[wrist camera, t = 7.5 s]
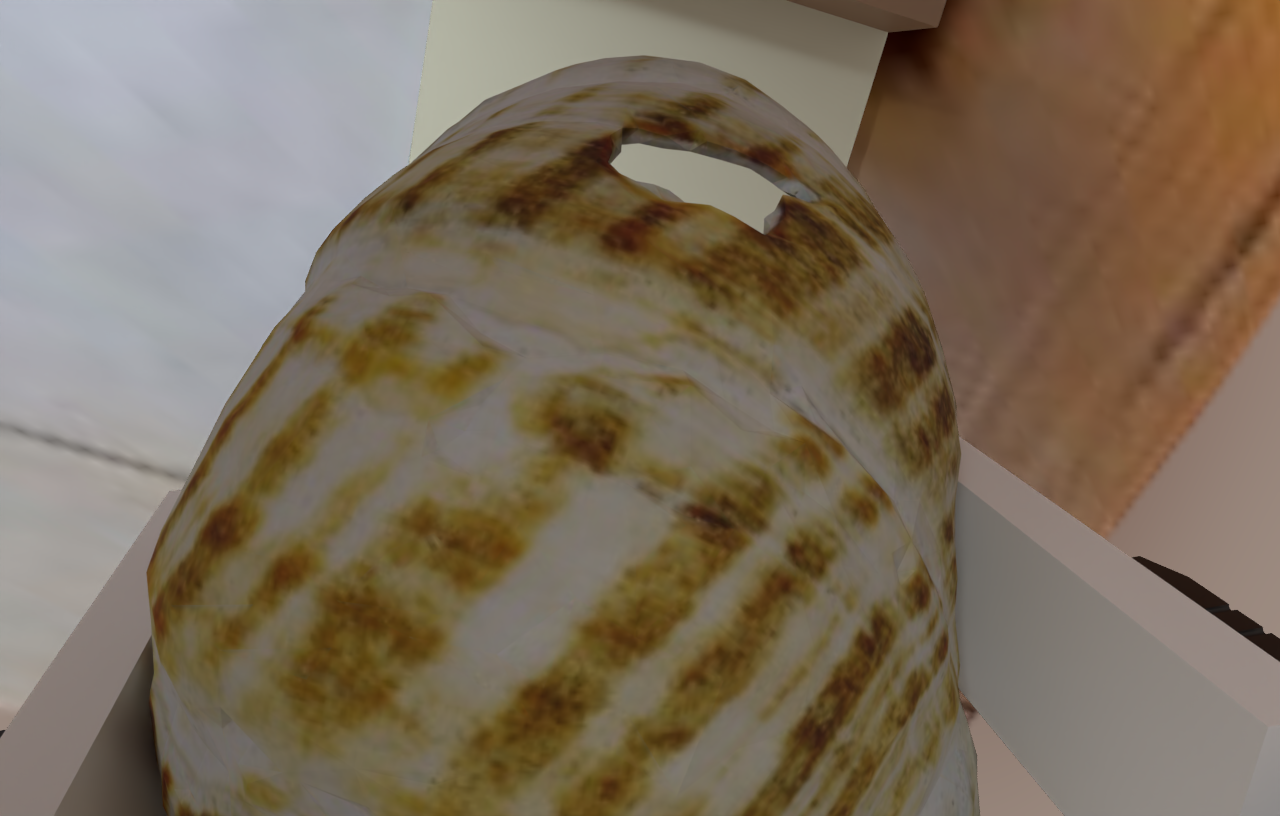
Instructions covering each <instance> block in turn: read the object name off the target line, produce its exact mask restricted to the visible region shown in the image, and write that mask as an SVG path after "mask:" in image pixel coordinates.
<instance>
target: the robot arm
mask: <svg viewBox="0 0 1280 816" xmlns="http://www.w3.org/2000/svg"><path fill="white" fill-rule="evenodd" d="M959 441H960V448H961V460H960V468H959V475H958V483H957V490H956V498H955V551H956V564H957V578H958V579H957V593H956V607H955V621H956V631H957V640H958V650H959V660H960V670H959V680H958V688H959V690H960V691H961V692H962V693H963V694H964V696H965V697H966V698H967V699H968V700H969V702H970V703H971V704H972V705H973V706H974V708H975V709H976V710H977V711H978V712H979V714H980V715H981V716H982V717H983V718H984V720H985V721H986V722H987V723H988V724H989V726H990V727H991V728H992V729H993V730H994V732H995V733H996V734H997V735H998V736H999V738H1000V739H1001V740H1002V741H1003V742H1004V744H1005V745H1006V746H1007V747H1008V748H1009V750H1010V751H1011V752H1012V753H1013V754H1014V756H1015V757H1016V758H1017V759H1018V761H1019V762H1020V763H1021V764H1022V765H1023V767H1024V768H1025V769H1026V770H1027V771H1028V773H1029V774H1030V775H1031V776H1032V777H1033V779H1034V780H1035V781H1036V782H1037V783H1038V785H1039V786H1040V787H1041V788H1042V789H1043V791H1044V792H1045V793H1046V794H1047V795H1048V797H1049V798H1050V799H1051V800H1052V801H1053V803H1054V804H1055V805H1056V806H1057V807H1058V809H1059V810H1060V811H1061V812H1062V814H1063V815H1064V816H1280V639H1279V638H1278V637H1276V636H1275V635H1273V634H1272V633H1270V634H1265V633H1264V632H1263V627H1262V626H1260V625H1259V624H1257V623H1256V622H1254V621H1253V620H1251V619H1250V618H1248V617H1247V616H1245V615H1244V614H1242V613H1241V612H1239V611H1238V610H1233V611H1231V610H1230V608H1229V604H1227V603H1226V602H1225V601H1223V600H1222V599H1220V598H1219V597H1217V596H1216V595H1214V594H1213V593H1211V592H1210V591H1208V590H1207V589H1205V588H1204V587H1203V586H1201V585H1200V584H1198V583H1196V582H1195V581H1193V580H1192V579H1191V578H1189V577H1187V576H1184V575H1183V574H1180V573H1178V572H1175V571H1173V570H1171V569H1168V568H1166V567H1164V566H1161V565H1159V564H1157V563H1154V562H1152V561H1150V560H1147V559H1145V558H1143V557H1140V556H1138V557H1130V556H1129V555H1127V554H1126V553H1124V552H1123V551H1121V550H1120V549H1118V548H1117V547H1116V546H1114V545H1113V544H1111V543H1110V542H1109V541H1107V540H1106V539H1104V538H1103V537H1102V536H1100V535H1099V534H1097V533H1096V532H1094V531H1093V530H1092V529H1090V528H1089V527H1087V526H1086V525H1085V524H1083V523H1082V522H1080V521H1079V520H1077V519H1076V518H1075V517H1073V516H1072V515H1070V514H1069V513H1067V512H1066V511H1065V510H1063V509H1062V508H1060V507H1059V506H1058V505H1056V504H1055V503H1053V502H1052V501H1050V500H1049V499H1048V498H1046V497H1045V496H1043V495H1042V494H1041V493H1039V492H1038V491H1036V490H1035V489H1033V488H1032V487H1031V486H1029V485H1028V484H1026V483H1025V482H1023V481H1022V480H1021V479H1019V478H1018V477H1016V476H1015V475H1014V474H1012V473H1011V472H1009V471H1008V470H1006V469H1005V468H1004V467H1002V466H1001V465H999V464H998V463H996V462H995V461H994V460H992V459H991V458H989V457H988V456H987V455H985V454H984V453H982V452H981V451H979V450H978V449H977V448H975V447H974V446H972V445H971V444H970V443H968V442H967V441H965V440H964V439H962V438H961V437H960V436H959ZM181 491H182V490H176V491H169V493H168V494H167V496H166V497H165V498H164V500H163V501H162V503H161V504H160V506H159V507H158V509H157V510H156V512H155V513H154V514H153V516H152V517H151V519H150V520H149V522H148V523H147V525H146V526H145V528H144V529H143V531H142V532H141V533H140V535H139V536H138V538H137V539H136V541H135V542H134V544H133V545H132V547H131V548H130V549H129V551H128V552H127V554H126V555H125V557H124V558H123V560H122V561H121V563H120V564H119V566H118V567H117V568H116V570H115V571H114V573H113V574H112V576H111V577H110V579H109V580H108V582H107V583H106V584H105V586H104V587H103V589H102V590H101V592H100V593H99V595H98V596H97V598H96V599H95V601H94V602H93V603H92V605H91V606H90V608H89V609H88V611H87V612H86V614H85V615H84V617H83V618H82V620H81V621H80V622H79V624H78V625H77V627H76V628H75V630H74V631H73V633H72V634H71V636H70V637H69V638H68V640H67V641H66V643H65V644H64V646H63V647H62V649H61V650H60V652H59V653H58V655H57V656H56V657H55V659H54V660H53V662H52V663H51V665H50V666H49V668H48V669H47V671H46V672H45V673H44V675H43V676H42V678H41V679H40V681H39V682H38V684H37V685H36V687H35V688H34V690H33V691H32V692H31V694H30V695H29V697H28V698H27V700H26V701H25V703H24V704H23V706H22V707H21V708H20V710H19V711H18V713H17V714H16V716H15V717H14V719H13V720H12V722H11V723H10V725H9V726H8V727H7V729H6V730H2V731H0V816H167V814H166V812H165V810H164V808H163V801H162V784H161V775H160V772H159V768H158V765H157V761H156V754H155V746H154V739H153V732H152V724H151V717H150V709H149V697H150V689H151V685H152V681H153V676H154V663H153V646H152V630H151V618H150V607H149V596H148V585H147V574H146V572H147V569H148V566H149V563H150V560H151V558H152V555H153V552H154V549H155V546H156V544H157V541H158V538H159V535H160V532H161V530H162V528H163V526H164V524H165V522H166V520H167V518H168V516H169V514H170V512H171V510H172V508H173V506H174V504H175V503H176V501H177V499H178V497H179V495H180V493H181Z"/></svg>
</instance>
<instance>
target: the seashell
mask: <svg viewBox="0 0 1280 816" xmlns="http://www.w3.org/2000/svg"><path fill="white" fill-rule="evenodd" d="M638 143H640V144H644V145H649V146H653V147H658V148H663V149H671V150H680V151H689V152H693V153H697V154H700V155H704V156H708V157H711V158H715V159H719V160H722V161H726V162H729V163H732V164H736V165H739V166H742V167H746V168H749V169H751V170H753V171H754V172H756V173H757V174H759V175H760V176H762V177H763V178H765V179H766V180H768V181H769V182H771V183H772V184H774V185H775V186H776V187H778V188H779V189H780V190H781V191H784V192H785V193H786V194H788V195H790V196H788V195H784V194H783V195H782V197H781V199H780V201H779V203H778V205H777V207H776V209H775V211H774V212H772V213H771V214H769V215H768V216H766V217H765V218H764V231H763V234H762V233H761V232H759V231H757V230H756V229H754V228H752V227H751V226H749V225H747V224H746V223H744V222H743V221H741V220H739V219H738V218H736V217H734V216H732V215H730V214H728V213H726V212H724V211H722V210H720V209H718V208H716V207H713V206H711V205H706V204H696V203H686V202H684V201H683V200H681V199H680V198H679V197H677V196H676V195H675V194H674V193H672V192H671V191H670V190H667V189H665V188H662V187H660V186H657V185H655V184H650V183H644V182H639V181H635V180H633V179H631V178H629V177H626V176H624V175H622V174H620V173H619V172H618V171H617V170H616V169H615V168H614V167H613V166H612V165H611V163H612V162H613V160H614V159H615V158H616V157H617V156H618V155H619V154H620V153H621V146H622V145H627V144H638ZM960 460H961V448H960V441H959V434H958V427H957V420H956V402H955V398H954V394H953V390H952V386H951V382H950V378H949V374H948V370H947V366H946V362H945V358H944V354H943V350H942V346H941V343H940V340H939V337H938V334H937V331H936V328H935V324H934V321H933V318H932V315H931V312H930V309H929V306H928V303H927V300H926V296H925V293H924V291H923V289H922V287H921V285H920V283H919V281H918V278H917V276H916V274H915V272H914V270H913V268H912V266H911V264H910V262H909V260H908V258H907V256H906V255H905V253H904V252H903V250H902V249H901V247H900V245H899V244H898V242H897V241H896V239H895V238H894V236H893V235H892V233H891V232H890V230H889V229H888V227H887V226H886V224H885V223H884V221H883V220H882V218H881V217H880V215H879V214H878V212H877V211H876V209H875V208H874V206H873V204H872V202H871V200H870V199H869V197H868V195H867V193H866V192H865V190H864V189H863V187H862V186H861V185H860V184H859V182H858V181H857V180H856V179H855V178H854V176H853V175H852V174H851V173H850V171H849V170H848V169H847V168H846V166H845V165H844V164H843V163H842V161H841V160H840V159H839V158H838V157H837V155H836V154H835V153H834V152H833V150H832V149H831V148H830V147H829V146H828V145H827V144H826V143H825V142H824V141H823V140H822V139H821V138H820V137H819V136H818V135H817V134H816V133H815V132H814V131H812V130H811V129H810V128H809V127H808V126H807V125H805V124H804V123H803V122H802V121H800V120H799V119H798V118H797V117H795V116H794V115H793V114H792V113H790V112H789V111H788V110H787V109H785V108H784V107H783V106H782V105H780V104H779V103H778V102H776V101H775V100H773V99H772V98H771V97H769V96H768V95H766V94H765V93H764V92H762V91H761V90H760V89H758V88H757V87H755V86H754V85H753V84H751V83H750V82H748V81H747V80H745V79H743V78H740V77H737V76H735V75H732V74H729V73H727V72H724V71H721V70H719V69H716V68H713V67H711V66H708V65H705V64H703V63H700V62H694V61H686V60H678V59H670V58H662V57H654V56H646V55H640V56H627V57H613V58H603V59H598V60H593V61H588V62H583V63H578V64H574V65H571V66H568V67H564V68H561V69H558V70H555V71H553V72H550V73H548V74H546V75H543V76H541V77H538V78H536V79H534V80H531V81H529V82H526V83H524V84H522V85H519V86H517V87H514V88H512V89H510V90H507V91H505V92H502V93H500V94H498V95H495V96H493V97H490V98H488V99H486V100H484V101H483V102H482V103H480V104H479V105H478V106H477V107H476V108H474V109H473V110H472V111H471V112H470V113H468V114H467V115H466V116H465V117H464V118H462V119H461V120H460V121H459V122H457V123H456V124H454V125H453V126H451V127H450V128H448V129H447V130H446V131H445V132H444V133H443V134H442V135H441V136H439V137H438V138H437V139H436V140H435V141H434V142H433V143H432V144H431V145H430V146H429V147H428V148H427V149H426V150H424V151H423V152H422V153H421V154H420V155H419V156H418V157H417V158H416V159H415V160H413V161H412V162H411V164H409V165H408V166H406V167H405V168H403V169H402V170H400V171H399V172H397V173H396V174H394V175H393V176H392V177H391V178H389V179H388V180H387V181H386V182H384V183H383V184H382V185H381V186H379V187H378V188H377V189H376V190H374V191H373V192H372V193H371V194H369V195H368V196H367V197H366V198H364V199H363V200H362V201H361V202H360V203H359V204H358V205H357V206H356V207H355V208H354V209H353V210H352V211H351V212H350V213H349V214H348V215H347V216H346V217H345V218H344V219H343V220H342V221H341V222H340V223H339V224H338V225H337V226H336V227H335V228H334V229H333V230H332V232H331V233H330V234H329V236H328V237H327V238H326V240H325V241H324V243H323V244H322V245H321V247H320V248H319V249H318V251H317V252H316V254H315V257H314V260H313V262H312V265H311V268H310V270H309V273H308V276H307V278H306V281H305V292H304V294H303V295H302V296H301V297H300V299H299V300H298V301H297V302H296V304H295V305H294V306H293V308H292V309H291V310H290V311H289V313H288V314H287V315H286V316H285V317H284V318H283V319H282V320H281V321H280V322H279V323H278V324H277V325H276V326H275V327H274V329H273V330H272V332H271V333H270V335H269V336H268V338H267V339H266V341H265V342H264V344H263V345H262V348H261V349H260V351H259V352H258V354H257V355H256V357H255V359H254V360H253V362H252V363H251V365H250V366H249V368H248V370H247V371H246V373H245V374H244V376H243V377H242V379H241V380H240V382H239V384H238V385H237V387H236V388H235V390H234V391H233V393H232V394H231V396H230V398H229V399H228V401H227V402H226V404H225V406H224V408H223V410H222V412H221V414H220V416H219V418H218V420H217V422H216V424H215V426H214V428H213V430H212V432H211V434H210V436H209V438H208V440H207V442H206V444H205V446H204V448H203V450H202V452H201V454H200V456H199V457H198V459H197V461H196V463H195V465H194V467H193V469H192V471H191V473H190V475H189V477H188V479H187V481H186V483H185V485H184V487H183V489H182V491H181V493H180V495H179V497H178V499H177V501H176V503H175V504H174V506H173V508H172V510H171V512H170V514H169V516H168V518H167V520H166V522H165V524H164V526H163V528H162V530H161V532H160V535H159V538H158V541H157V544H156V546H155V549H154V552H153V555H152V558H151V560H150V563H149V566H148V569H147V572H146V574H147V585H148V596H149V607H150V618H151V630H152V646H153V663H154V676H153V681H152V685H151V689H150V697H149V709H150V717H151V724H152V732H153V739H154V746H155V754H156V761H157V765H158V768H159V772H160V775H161V784H162V801H163V808H164V810H165V812H166V814H167V816H980V809H979V796H978V783H977V754H976V750H975V747H974V743H973V740H972V737H971V733H970V730H969V726H968V723H967V719H966V716H965V713H964V711H963V708H962V705H961V702H960V698H959V688H958V680H959V670H960V660H959V650H958V640H957V631H956V621H955V607H956V593H957V579H958V578H957V564H956V551H955V498H956V490H957V483H958V475H959V468H960Z"/></svg>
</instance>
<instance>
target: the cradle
mask: <svg viewBox="0 0 1280 816" xmlns="http://www.w3.org/2000/svg"><path fill="white" fill-rule="evenodd" d="M945 3H946V0H433V2H432V9H431V16H430V23H429V30H428V36H427V43H426V50H425V57H424V63H423V70H422V77H421V84H420V91H419V97H418V104H417V111H416V118H415V125H414V131H413V138H412V145H411V152H410V159H409V164H411V162H412V161H413V160H415V159H416V158H417V157H418V156H419V155H420V154H421V153H422V152H423V151H424V150H426V149H427V148H428V147H429V146H430V145H431V144H432V143H433V142H434V141H435V140H436V139H437V138H438V137H439V136H441V135H442V134H443V133H444V132H445V131H446V130H447V129H448V128H450V127H451V126H453V125H454V124H456V123H457V122H459V121H460V120H461V119H462V118H464V117H465V116H466V115H467V114H468V113H470V112H471V111H472V110H473V109H474V108H476V107H477V106H478V105H479V104H480V103H482V102H483V101H484V100H486V99H488V98H490V97H493V96H495V95H498V94H500V93H502V92H505V91H507V90H510V89H512V88H514V87H517V86H519V85H522V84H524V83H526V82H529V81H531V80H534V79H536V78H538V77H541V76H543V75H546V74H548V73H550V72H553V71H555V70H558V69H561V68H564V67H568V66H571V65H574V64H578V63H583V62H588V61H593V60H598V59H603V58H613V57H627V56H640V55H646V56H654V57H662V58H670V59H678V60H686V61H694V62H700V63H703V64H705V65H708V66H711V67H713V68H716V69H719V70H721V71H724V72H727V73H729V74H732V75H735V76H737V77H740V78H743V79H745V80H747V81H748V82H750V83H751V84H753V85H754V86H755V87H757V88H758V89H760V90H761V91H762V92H764V93H765V94H766V95H768V96H769V97H771V98H772V99H773V100H775V101H776V102H778V103H779V104H780V105H782V106H783V107H784V108H785V109H787V110H788V111H789V112H790V113H792V114H793V115H794V116H795V117H797V118H798V119H799V120H800V121H802V122H803V123H804V124H805V125H807V126H808V127H809V128H810V129H811V130H812V131H814V132H815V133H816V134H817V135H818V136H819V137H820V138H821V139H822V140H823V141H824V142H825V143H826V144H827V145H828V146H829V147H830V148H831V149H832V150H833V152H834V153H835V154H836V155H837V157H838V158H839V159H840V160H841V161H842V163H843V164H844V165H845V166H846V168H847V165H848V161H849V158H850V155H851V152H852V148H853V145H854V142H855V139H856V136H857V132H858V129H859V126H860V123H861V119H862V116H863V113H864V110H865V106H866V103H867V100H868V97H869V93H870V90H871V87H872V84H873V80H874V77H875V74H876V71H877V67H878V64H879V61H880V58H881V55H882V51H883V48H884V45H885V42H886V38H887V35H888V32H897V31H907V30H916V29H926V28H935V27H938V25H939V22H940V19H941V16H942V13H943V9H944V6H945ZM611 165H612V166H613V167H614V168H615V169H616V170H617V171H618V172H619V173H620V174H622V175H624V176H626V177H629V178H631V179H633V180H635V181H639V182H644V183H650V184H655V185H657V186H660V187H662V188H665V189H667V190H670V191H671V192H672V193H674V194H675V195H676V196H677V197H679V198H680V199H681V200H683V201H684V202H686V203H696V204H706V205H711V206H713V207H716V208H718V209H720V210H722V211H724V212H726V213H728V214H730V215H732V216H734V217H736V218H738V219H739V220H741V221H743V222H744V223H746V224H747V225H749V226H751V227H752V228H754V229H756V230H757V231H759V232H761V233H762V234H763V231H764V218H765V217H766V216H768V215H769V214H771V213H772V212H774V211H775V209H776V207H777V205H778V203H779V201H780V199H781V197H782V195H783V194H784V195H788V194H786V193H785V192H784V191H781V190H780V189H779V188H778V187H776V186H775V185H774V184H772V183H771V182H769V181H768V180H766V179H765V178H763V177H762V176H760V175H759V174H757V173H756V172H754V171H753V170H751V169H749V168H746V167H742V166H739V165H736V164H732V163H729V162H726V161H722V160H719V159H715V158H711V157H708V156H704V155H700V154H697V153H693V152H689V151H680V150H671V149H663V148H658V147H653V146H649V145H644V144H640V143H638V144H627V145H622V146H621V153H620V154H619V155H618V156H617V157H616V158H615V159H614V160H613V162H612V163H611ZM788 196H790V195H788Z"/></svg>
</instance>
